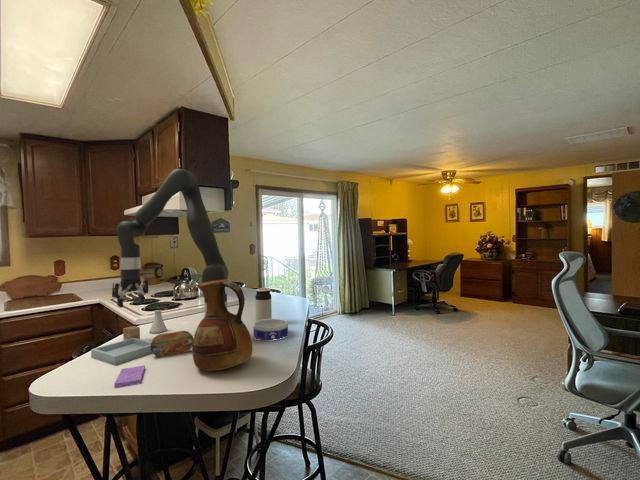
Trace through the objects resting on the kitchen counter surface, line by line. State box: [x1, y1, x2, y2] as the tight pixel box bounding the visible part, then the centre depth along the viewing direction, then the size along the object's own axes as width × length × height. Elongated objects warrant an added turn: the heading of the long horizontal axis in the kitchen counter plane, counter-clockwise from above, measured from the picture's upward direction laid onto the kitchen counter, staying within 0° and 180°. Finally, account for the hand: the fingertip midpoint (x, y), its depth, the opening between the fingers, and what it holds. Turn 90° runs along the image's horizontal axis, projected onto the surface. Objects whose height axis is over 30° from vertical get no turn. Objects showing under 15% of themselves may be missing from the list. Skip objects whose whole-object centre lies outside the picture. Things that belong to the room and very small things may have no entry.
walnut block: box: [122, 325, 141, 341], centre depth 140 cm, size 4×4×6 cm
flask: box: [149, 309, 168, 334], centre depth 154 cm, size 7×7×10 cm
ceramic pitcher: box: [191, 279, 254, 371], centre depth 112 cm, size 20×20×30 cm
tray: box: [90, 338, 153, 366], centre depth 124 cm, size 16×16×3 cm
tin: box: [150, 330, 194, 358], centre depth 124 cm, size 15×3×8 cm, turn 117°
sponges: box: [114, 364, 146, 389], centre depth 103 cm, size 7×13×2 cm, turn 23°
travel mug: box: [254, 287, 273, 322], centre depth 165 cm, size 8×8×18 cm
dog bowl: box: [253, 318, 289, 341], centre depth 146 cm, size 15×15×6 cm
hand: (131, 305), depth 139 cm, fingers open, 8 cm apart
